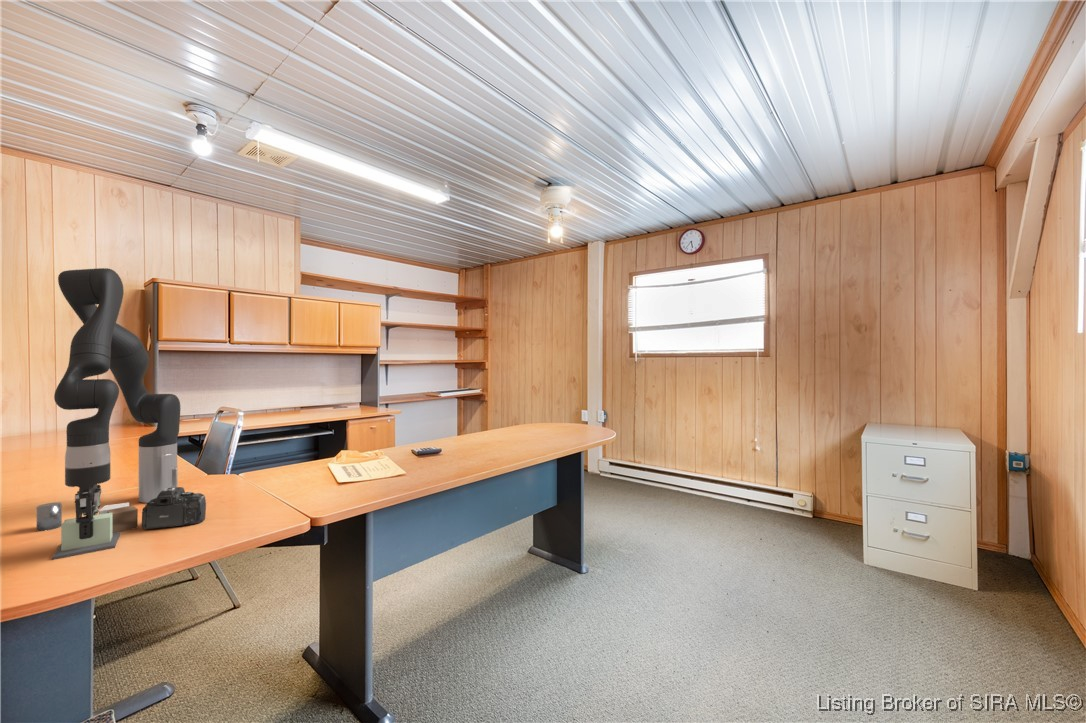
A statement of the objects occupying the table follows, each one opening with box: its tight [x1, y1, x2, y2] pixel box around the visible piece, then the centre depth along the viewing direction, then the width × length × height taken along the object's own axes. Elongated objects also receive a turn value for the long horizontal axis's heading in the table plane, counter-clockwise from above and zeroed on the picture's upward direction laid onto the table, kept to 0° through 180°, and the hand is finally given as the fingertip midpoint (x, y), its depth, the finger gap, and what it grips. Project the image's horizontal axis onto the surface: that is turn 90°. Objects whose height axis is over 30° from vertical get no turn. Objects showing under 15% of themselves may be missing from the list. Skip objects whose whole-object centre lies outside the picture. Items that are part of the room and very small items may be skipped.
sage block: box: [60, 513, 113, 551], centre depth 105 cm, size 8×4×6 cm, turn 129°
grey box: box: [98, 502, 130, 515], centre depth 121 cm, size 5×5×4 cm
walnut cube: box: [107, 504, 139, 533], centre depth 115 cm, size 5×5×5 cm
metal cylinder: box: [36, 501, 63, 532], centre depth 115 cm, size 4×4×6 cm
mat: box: [51, 532, 121, 560], centre depth 105 cm, size 10×10×1 cm
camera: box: [141, 486, 207, 530], centre depth 119 cm, size 13×10×10 cm
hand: (88, 533), depth 105 cm, fingers open, 5 cm apart
